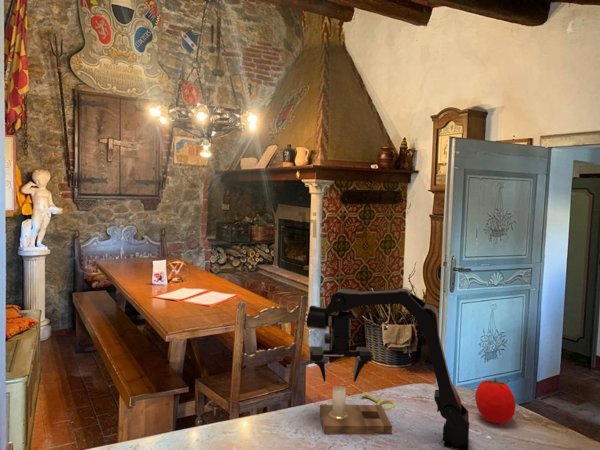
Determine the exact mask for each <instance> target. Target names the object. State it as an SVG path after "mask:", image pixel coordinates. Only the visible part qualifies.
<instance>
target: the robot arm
mask: <svg viewBox="0 0 600 450" xmlns="http://www.w3.org/2000/svg"><path fill="white" fill-rule="evenodd" d="M398 304H399V305H401V306H402V307H403V308H404V309H405V310H406V311H407V313H408V314H410V315H411V316H412V318H415V321H416V323H417V325H418V329H419V330H420V332H421V333H422V336H423V337H424V339H425V341H426V344H427V348H428V352H429V357H430V360H431V364H432V368H433V371H434V375H435V380H436V385H437V389H434V394H433V395H434V396H433V399H434V401H435V404H436V407H437V411H436V412H438V413H440V416H441V417H442V418H443V419H444V420H445V423H443V426H442V427H443V428H442V442H443V447H446V448H451V449H454V450H469V447H470V438H469V437H470V436H469V435H470V421H469V415H470V414H469V410H468V409H467V408H466V407H465V406H464V405H463V404H462V400H461V397H460V395H459V393H458V391H457V389H456V387H455V385H454V384H453V382H452V379H451V375H450V372H449V368H448V363H447V359H446V356H445V352H444V348H443V343H442V340H441V336H440V325H439V324H440V322H439V313H438V311H439V310H438V309H437V307H436V306H434V305H432V304H430V303H426V302H425V301H424V300H422V299H421V298H419V297H418V296H417V295H415V294H413V293H412V292H411V291H410V290H409V289H407V288H400V289H387V290H383V289H382V290H370V291H368V290H367V291H361V290H356V289H351V288H350V289H349V288H341V289H339V290H337V291H336V292H334V293H332V295H331V298H330V303H329V304H328V305H326V307H325V306H318V305H317V306H316V305H310V306H309V309H308V313H307V317H306V326H307V328H309V329H317V330H325V331H326V330H328V327H331V333H324V335H323V343H324V345H329V350H327V349H326V350H325V349H324V350H323V346H310V347H309V350H308V356H309V361H311V362H313V363H314V365H318V368H319V369H320V372H321V377H322V380H323V383H325V382H326V369H325V367H326V366H325V360H324V357H326V358H327V357H329V358H335V357H336V358H355V359H354V368H353V382H354V383H356V381H357V380H358V376H359V374H360V372H361V371H362V369H363V368H364V366H365V365H368V364H369V363H368V362H372V361H373V352H372V351H371V350H370V348H369V347H368V346H356V349H355V350H351V349H350V348H351V320H355V319H356V318H357V317H358V314H357V313H356V312H355V311H354V309H355V308H359V307H361V306H363V307H365V306H378V305H379V306H380V305H382V306H383V305H398ZM336 311H338V312H336Z"/></svg>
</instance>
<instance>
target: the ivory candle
mask: <svg viewBox="0 0 600 450" xmlns="http://www.w3.org/2000/svg"><path fill="white" fill-rule="evenodd" d="M346 394H347V388H346V387H344V386H341V385H336V386H333V387H332V402H331V403H332V404H331V405H332V415H333V416H335V417H343V416H345V405H346V404H347V403H346V400H347V398H346Z"/></svg>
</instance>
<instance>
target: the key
mask: <svg viewBox="0 0 600 450" xmlns="http://www.w3.org/2000/svg"><path fill="white" fill-rule="evenodd" d="M359 396H360V397H362V398H364V397H366V398H368V399H369V400H371V401H373V402H375V403H376V405H383V404H391V406H390V405H389V406H388V407H384V406H382V407H383V409H384V411H389V410H392V409H394V408H395V406H396V402H395V401H393V400H391V399H380V398H377V397H375V396H373V395H371V394H369V393H368V392H366V391H364V392H362V393H361V394H360V395H359Z"/></svg>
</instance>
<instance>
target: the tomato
mask: <svg viewBox="0 0 600 450" xmlns="http://www.w3.org/2000/svg"><path fill="white" fill-rule="evenodd" d="M510 388H511V387H509V385H508V383H506V382H503V381H497V377H494V379H493V380H492V379H488V380H487V379H486V380H483V381H481V382H480V383H479V384H478V386H477V388H476V391H475V394H474V396H475V398H474V399H475V403H476V407H477V410H478V412H479V414H480V415H481V416H482V418H483V419H484V420H486V421H487V422H490V423H493V424H497V425H498V424H500V425H502V424H507V423H508V422H510V421H511V420H512V418H513V417H514V416H515V412H516V405H517V404H516V398H515V395H514V393H513V392H512V390H511V389H510Z"/></svg>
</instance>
